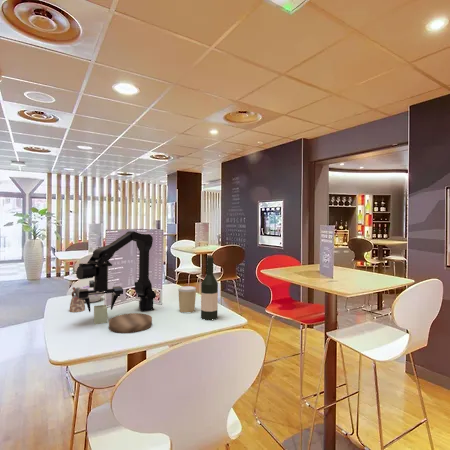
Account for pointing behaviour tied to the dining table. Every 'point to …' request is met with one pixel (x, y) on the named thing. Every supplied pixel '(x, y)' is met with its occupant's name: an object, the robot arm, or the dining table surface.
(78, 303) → the figurine
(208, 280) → the wine bottle
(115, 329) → the walnut base
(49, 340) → the dining table surface
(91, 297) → the paper bowls
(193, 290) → the coffee cup
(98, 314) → the sage block
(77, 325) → the dining table surface
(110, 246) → the robot arm
